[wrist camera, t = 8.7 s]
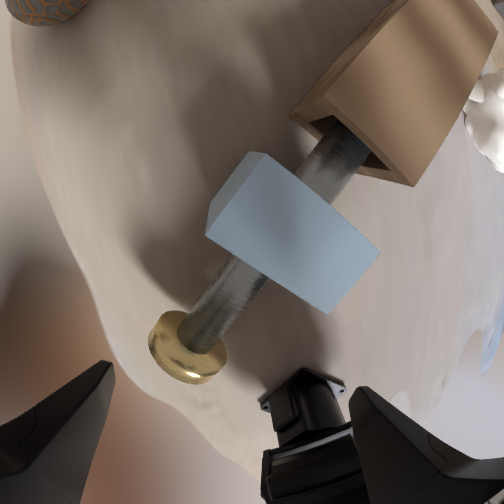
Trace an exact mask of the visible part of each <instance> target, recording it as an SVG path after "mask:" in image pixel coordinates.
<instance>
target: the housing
mask: <svg viewBox="0 0 504 504" xmlns="http://www.w3.org/2000/svg"><path fill="white" fill-rule="evenodd" d="M497 35H498V31H497V30H496V28H495V27H494V25H493V24H492V23H491V21H490V20H489V19H488V17H487V16H486V15H485V13H484V12H483V11H482V10H481V8H480V7H479V6H478V5H477V3H476V2H475V1H474V0H393V1H392V2H391V3H390V4H389V5H388V6H387V7H386V8H385V9H384V10H383V11H382V12H381V13H380V14H379V15H378V16H377V17H376V18H375V19H374V20H373V21H372V22H371V23H370V24H369V25H368V26H367V27H366V28H365V29H364V31H363V32H362V33H361V34H360V35H359V36H358V37H357V38H356V39H355V40H354V41H353V42H352V43H351V44H350V45H349V47H348V48H347V49H346V50H345V51H344V52H343V53H342V54H341V55H340V56H339V58H338V59H337V60H336V61H335V62H334V63H333V64H332V65H331V67H330V68H329V69H328V70H327V71H326V72H325V73H324V74H323V76H322V77H321V78H320V79H319V80H318V81H317V83H316V84H315V85H314V86H313V87H312V88H311V90H310V91H309V92H308V93H307V94H306V95H305V97H304V98H303V99H302V100H301V101H300V103H299V104H298V105H297V106H296V107H295V109H294V110H293V111H292V112H291V114H290V115H289V117H290V118H291V119H293V120H294V121H295V122H296V123H298V124H299V125H300V126H301V127H303V128H304V129H305V130H306V131H308V132H309V133H310V134H311V135H312V136H314V137H315V138H316V139H317V140H318V141H320V140H321V138H322V137H323V136H324V135H325V133H326V132H327V131H328V130H329V128H330V127H331V126H332V125H333V123H334V122H335V121H336V120H337V118H338V119H339V120H340V121H341V122H342V123H343V124H344V125H345V126H346V127H347V128H349V129H350V130H351V131H352V132H353V133H354V134H355V135H356V136H357V137H358V138H359V139H360V140H361V141H362V142H363V143H364V144H365V145H366V146H367V147H368V148H369V149H370V150H371V153H370V154H369V155H368V157H367V158H366V159H365V161H364V162H363V163H362V165H361V166H360V167H359V169H358V170H357V171H356V174H361V175H366V176H370V177H374V178H379V179H383V180H387V181H391V182H395V183H399V184H403V185H407V186H411V187H415V185H416V184H417V182H418V181H419V179H420V178H421V176H422V175H423V173H424V172H425V170H426V169H427V167H428V166H429V164H430V162H431V161H432V159H433V158H434V156H435V155H436V153H437V151H438V150H439V148H440V147H441V145H442V143H443V142H444V140H445V138H446V137H447V135H448V133H449V132H450V130H451V128H452V127H453V125H454V123H455V121H456V120H457V118H458V116H459V114H460V112H461V111H462V109H463V107H464V105H465V103H466V101H467V99H468V98H469V96H470V94H471V92H472V90H473V88H474V86H475V84H476V82H477V80H478V78H479V76H480V74H481V72H482V69H483V67H484V65H485V63H486V61H487V59H488V56H489V54H490V52H491V49H492V47H493V45H494V42H495V40H496V37H497Z"/></svg>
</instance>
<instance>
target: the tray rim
mask: <svg viewBox="0 0 504 504" xmlns="http://www.w3.org/2000/svg"><path fill="white" fill-rule="evenodd" d="M493 5H494V7H495V8H496V9H497V11H498V12H499V13H500V15H501V16H502V18H503V19H504V0H495V2H494V4H493Z"/></svg>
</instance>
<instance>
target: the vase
mask: <svg viewBox="0 0 504 504" xmlns="http://www.w3.org/2000/svg"><path fill="white" fill-rule="evenodd" d="M88 1H89V0H5V3H6V6H7V8H8V10H9V12H10V13H11V14H12V15H13V17H15V18H16V19H17V20H19V21H21V22H23V23H25V24H28V25H32V26H49V25H54V24H57V23H59V22H62V21H64V20H66V19H68V18H70V17H71V16H73V15H74V14H76V13H77V12H78V11H79V10H80V9H82V8H83V7H84V5H85V4H86V3H87V2H88Z"/></svg>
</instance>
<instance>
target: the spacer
mask: <svg viewBox="0 0 504 504" xmlns="http://www.w3.org/2000/svg"><path fill="white" fill-rule="evenodd" d="M205 236H206V237H208V238H209V239H211V240H212V241H214V242H215V243H217V244H218V245H220V246H221V247H223V248H225V249H226V250H228V251H229V252H231V253H232V254H234V255H235V256H237V257H238V258H240V259H241V260H243V261H244V262H246V263H247V264H249V265H250V266H252V267H254V268H255V269H257V270H258V271H260V272H261V273H263V274H264V275H266V276H267V277H269V278H270V279H272V280H274V281H275V282H277V283H278V284H280V285H281V286H283V287H284V288H286V289H287V290H289V291H291V292H292V293H294V294H295V295H297V296H298V297H300V298H301V299H303V300H305V301H306V302H308V303H309V304H311V305H312V306H314V307H315V308H317V309H319V310H320V311H322V312H323V313H325V314H326V315H327V314H328V313H329V312H330V311H331V310H332V309H333V308H334V307H335V306H336V305H337V304H338V302H339V301H340V300H341V299H342V298H343V297H344V296H345V295H346V293H347V292H348V291H349V290H350V289H351V288H352V286H353V285H354V284H355V283H356V282H357V281H358V279H359V278H360V277H361V276H362V275H363V274H364V272H365V271H366V270H367V269H368V268H369V266H370V265H371V264H372V263H373V261H374V260H375V259H376V258H377V256H378V255H379V254H380V253H381V252H380V251H379V250H378V249H377V248H376V247H375V246H374V245H373V244H372V243H371V242H370V241H369V240H368V239H367V238H366V237H364V236H363V235H362V234H361V233H360V232H359V231H358V230H357V229H356V228H355V227H354V226H353V225H351V224H350V223H349V222H348V221H347V220H346V219H345V218H344V217H343V216H342V215H340V214H339V213H338V212H337V211H336V210H335V209H334V208H332V207H331V206H330V205H329V204H328V203H327V202H326V201H324V200H323V199H322V198H321V197H320V196H319V195H317V194H316V193H315V192H314V191H313V190H311V189H310V188H309V187H308V186H307V185H305V184H304V183H303V182H302V181H301V180H299V179H298V178H297V177H296V176H294V175H293V174H292V173H291V172H290V171H288V170H287V169H286V168H285V167H283V166H282V165H281V164H279V163H278V162H277V161H276V160H274V159H273V158H272V157H270V156H269V155H268V154H266V153H260V152H252V151H249V152H248V153H247V154H246V156H245V157H244V158H243V160H242V161H241V162H240V163H239V165H238V166H237V167H236V169H235V170H234V171H233V173H232V174H231V175H230V177H229V178H228V179H227V181H226V182H225V183H224V185H223V186H222V187H221V189H220V190H219V192H218V193H217V194H216V196H215V197H214V198H213V200H212V201H211V203H210V206H209V212H208V218H207V224H206V231H205Z"/></svg>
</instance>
